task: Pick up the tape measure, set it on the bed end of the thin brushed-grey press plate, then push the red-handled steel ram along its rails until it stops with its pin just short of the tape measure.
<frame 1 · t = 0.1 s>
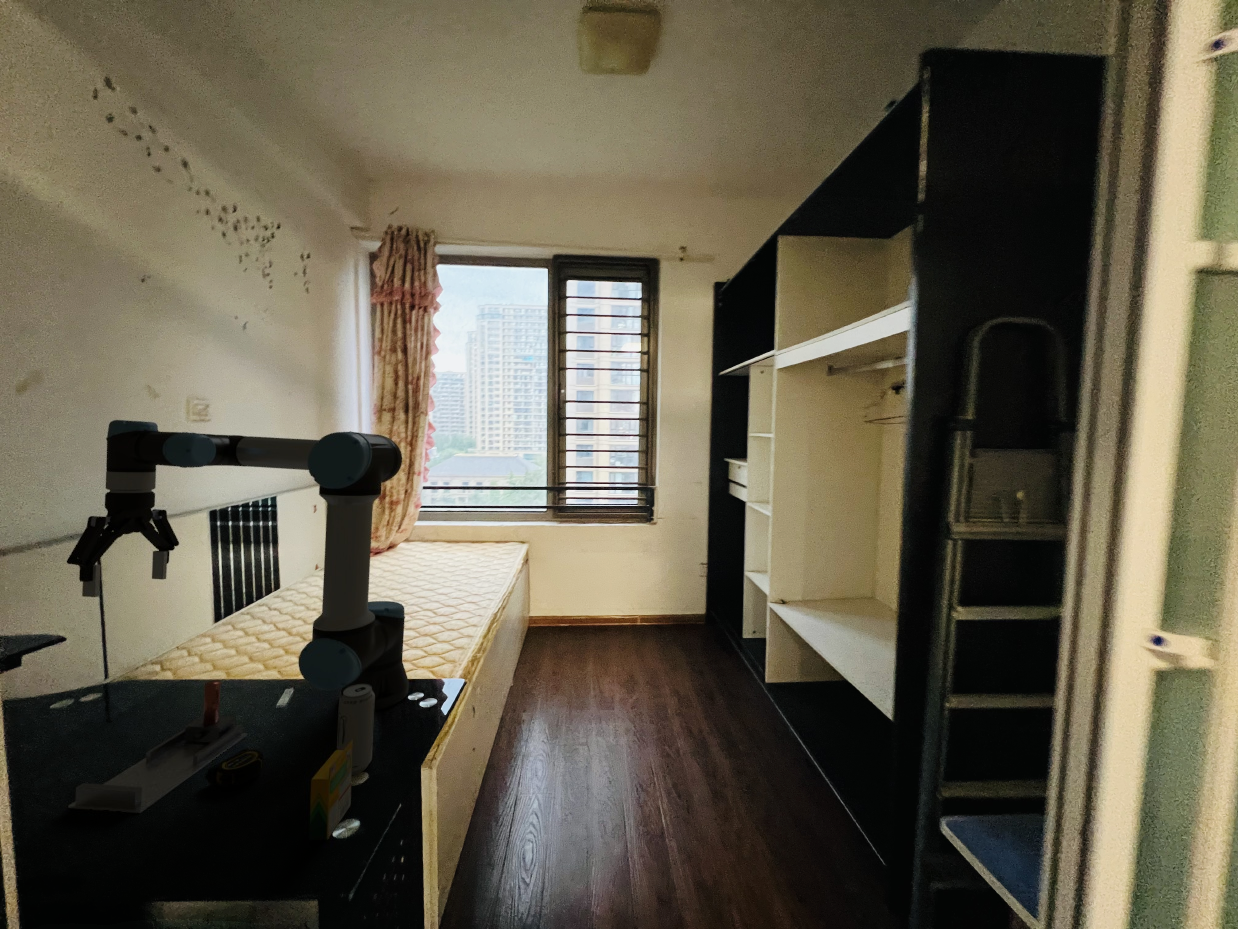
hand: (127, 587, 101), 28 cm above the table, fingers open, 13 cm apart
press bed: (168, 767, 85), on the table
crayon box: (330, 823, 75), on the table
tape measure: (234, 780, 84), on the table
energy drink can: (353, 768, 88), on the table
ram: (208, 711, 93), point 6 cm above the table, slide at 0.0 cm
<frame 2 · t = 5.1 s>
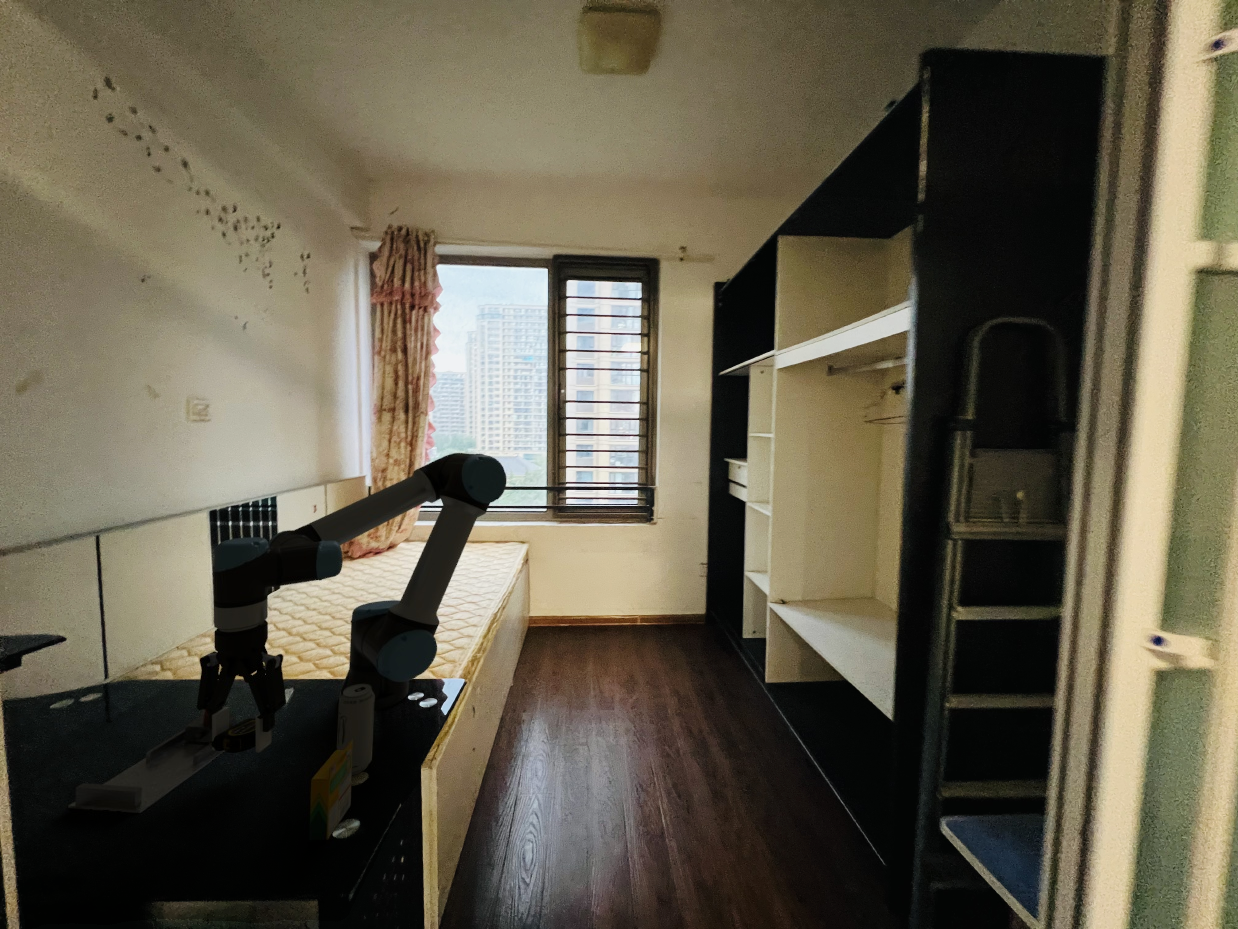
hand: (242, 746, 84), 6 cm above the table, fingers closed on tape measure, 7 cm apart
tape measure: (240, 747, 84), point 5 cm above the table, touching gripper
everything else where it was.
when the fingers open (1 cm above the table, at t = 7.9 s): tape measure stays where it is, resting on press bed.
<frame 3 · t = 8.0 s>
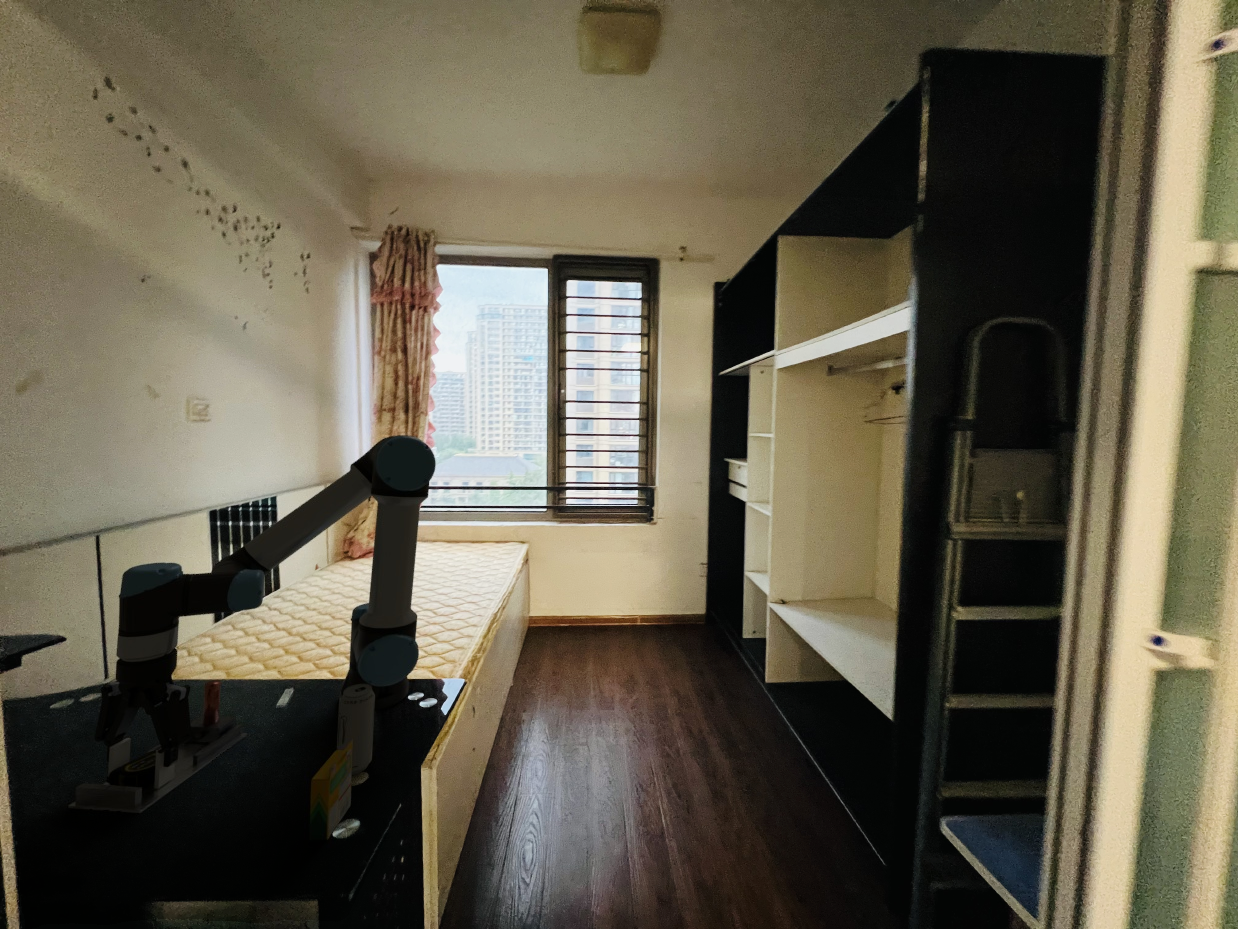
hand: (141, 780, 81), 1 cm above the table, fingers open, 8 cm apart
tape measure: (140, 782, 81), resting on press bed
everything else where it was.
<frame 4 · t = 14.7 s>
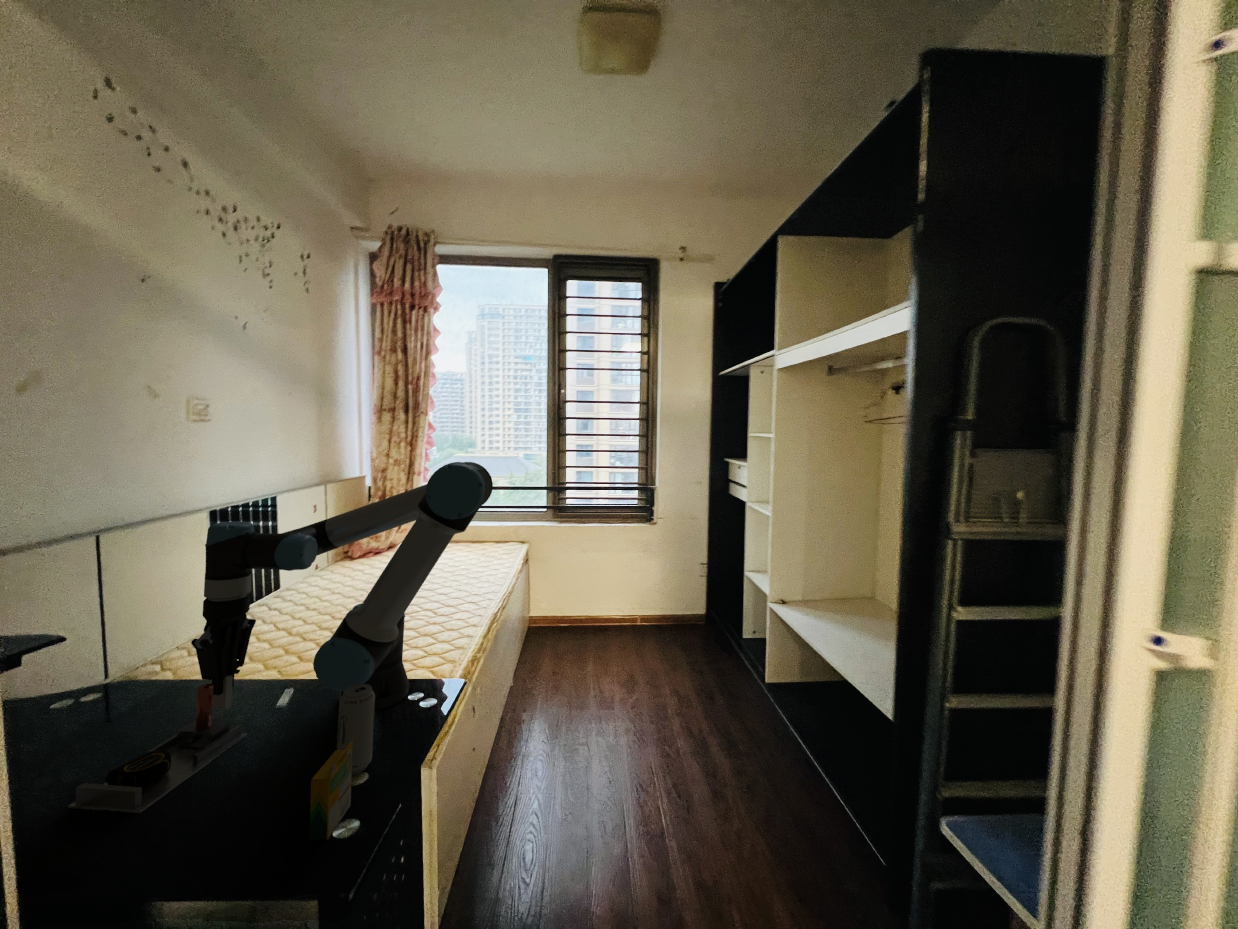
hand: (221, 706, 96), 5 cm above the table, fingers closed
ram: (201, 715, 92), point 6 cm above the table, slide at 1.6 cm, touching gripper
everything else where it was.
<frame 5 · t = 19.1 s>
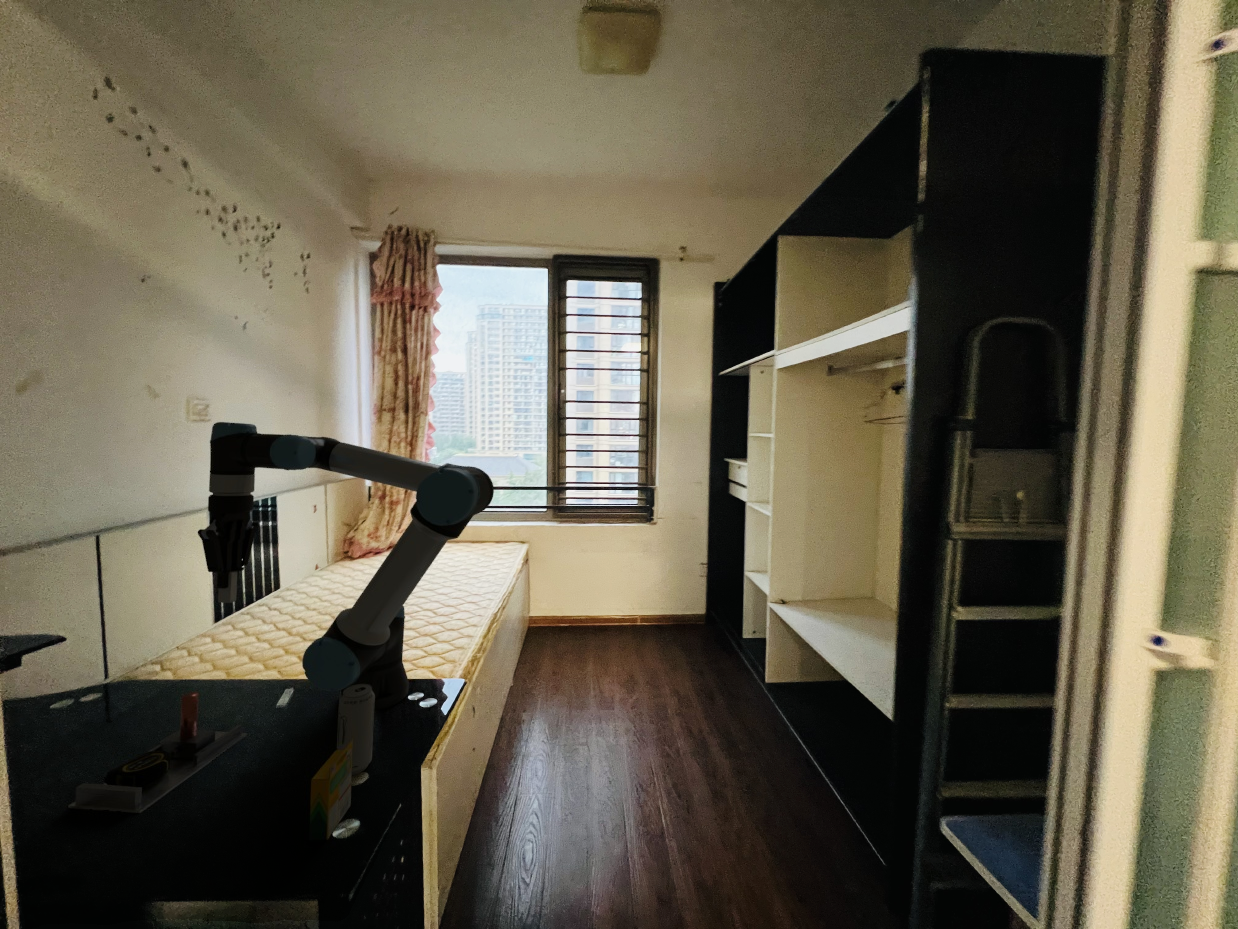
hand: (227, 601, 99), 26 cm above the table, fingers closed
ram: (186, 724, 88), point 6 cm above the table, slide at 4.8 cm
everything else where it was.
at the end: tape measure inside the target area on the press bed (1.1 cm from its centre), point 0.2 cm above the press bed's base; ram slide at 4.8 cm; tape measure touching press bed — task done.
